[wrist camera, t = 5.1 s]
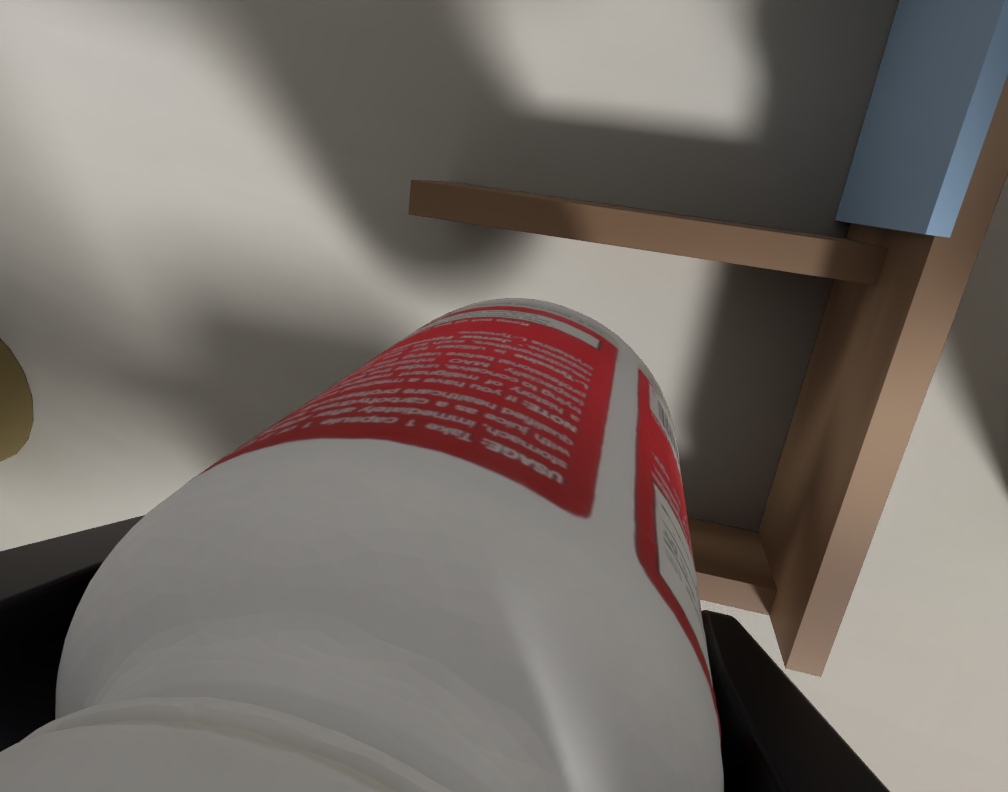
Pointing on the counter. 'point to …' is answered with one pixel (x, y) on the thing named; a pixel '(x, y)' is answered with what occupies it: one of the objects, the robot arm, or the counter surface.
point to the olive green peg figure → (13, 405)
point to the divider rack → (835, 307)
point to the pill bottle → (409, 591)
